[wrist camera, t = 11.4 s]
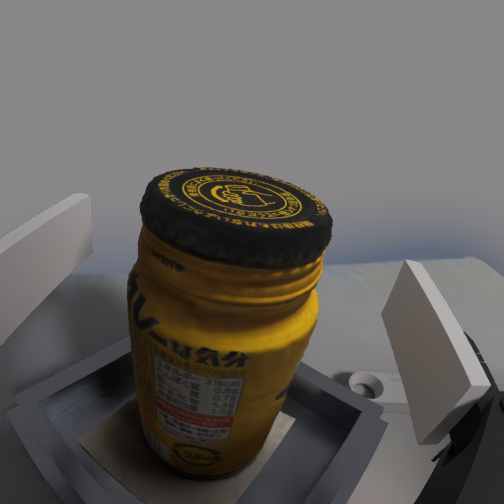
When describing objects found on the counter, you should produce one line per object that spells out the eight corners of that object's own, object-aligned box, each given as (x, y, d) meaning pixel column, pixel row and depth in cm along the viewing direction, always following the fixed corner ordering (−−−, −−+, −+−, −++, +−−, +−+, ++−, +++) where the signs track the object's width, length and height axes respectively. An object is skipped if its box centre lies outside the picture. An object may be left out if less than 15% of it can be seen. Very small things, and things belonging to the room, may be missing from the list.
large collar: (383, 428, 16) (404, 403, 15) (226, 639, 4) (235, 649, 3) (196, 314, 23) (198, 285, 22) (9, 417, 11) (-9, 388, 10)
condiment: (294, 420, 15) (384, 206, 10) (201, 543, 9) (253, 373, 3) (186, 357, 18) (207, 150, 13) (78, 443, 11) (1, 191, 6)
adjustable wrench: (340, 415, 17) (350, 398, 16) (339, 347, 23) (347, 330, 22) (565, 419, 15) (576, 406, 14) (544, 376, 20) (553, 363, 20)
